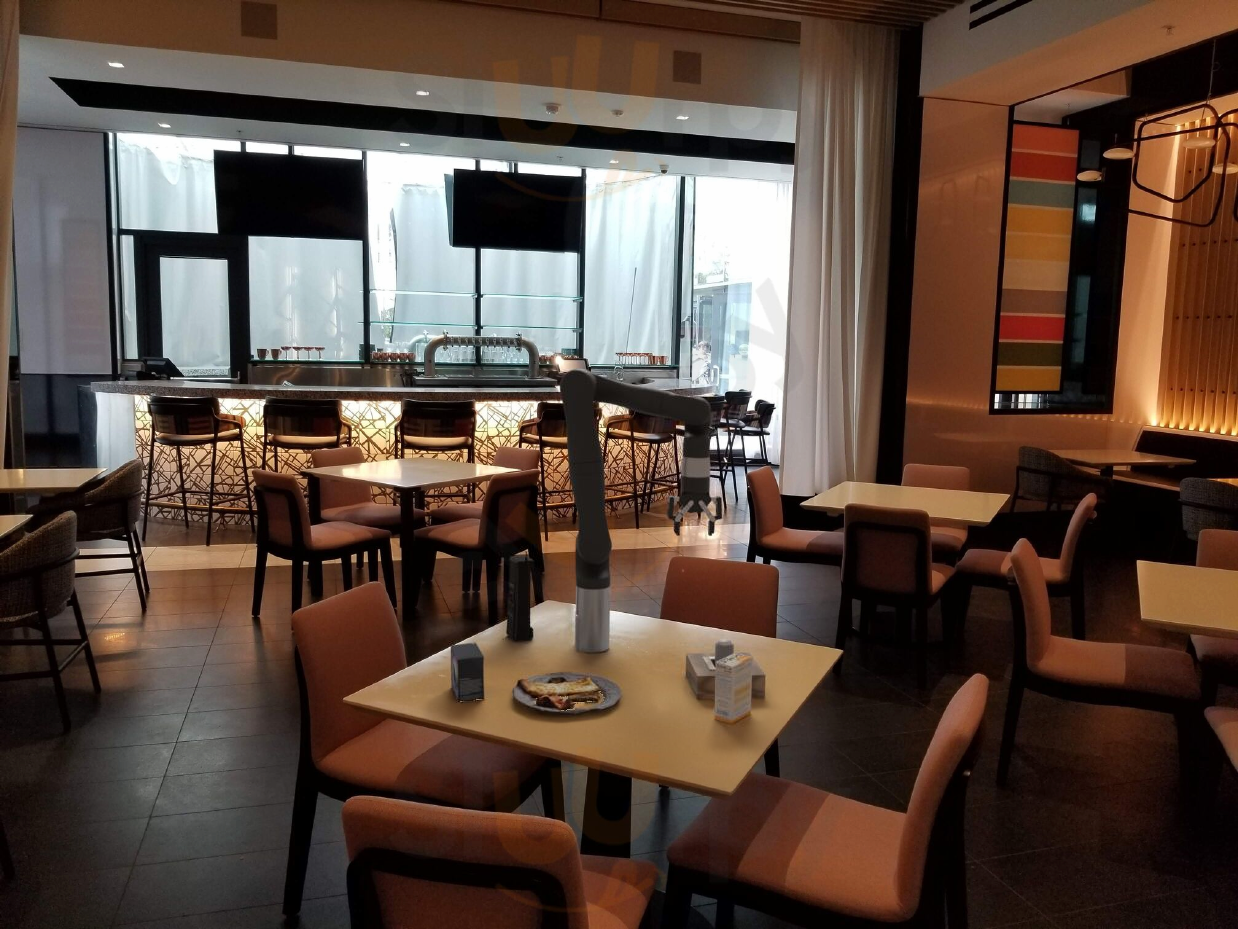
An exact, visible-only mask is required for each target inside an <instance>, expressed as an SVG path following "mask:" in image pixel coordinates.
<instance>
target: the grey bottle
mask: <svg viewBox="0 0 1238 929" xmlns="http://www.w3.org/2000/svg"><path fill="white" fill-rule="evenodd" d="M734 649H735V645H734V644H733V642H732V640H731V639H729V638H719V639H717V642H716V643H715V647H714V651H715V652H714V653H715V667H716V662H717V661H719V660H721V659H723V658H725V657H727V656H730V655H732V654H734V653H735V652H734V651H735V650H734Z"/></svg>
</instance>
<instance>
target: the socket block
mask: <svg viewBox="0 0 1238 929" xmlns="http://www.w3.org/2000/svg"><path fill="white" fill-rule="evenodd" d="M737 653H738V654H742V655H746V656H750V657H752V688H751V699H765V698H766V674H765V672H764V671H763V669H762V668H761V667H760V665H759V664H758V662H757V661H756V660H755V658H754V656H752V654H751V653H750V652H737ZM685 676H686V679H687V680H688V683H689V685H690V687H691V690H692V692H693V693H694V696H695V698H696V700H715V652H707V653H705V652H703V653H702V652H700V653H698V652H697V653H693V652H691V653H685Z"/></svg>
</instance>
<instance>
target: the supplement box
mask: <svg viewBox="0 0 1238 929" xmlns="http://www.w3.org/2000/svg"><path fill="white" fill-rule="evenodd" d="M738 653H739V652H734V654H732V655H730V656H727V657H725V658H723V659H721V660H719V661H717V662H716V667H715V699H714V717H713V718H714V719H715V720H718V721H720V722H724V723H727V724H731V725H733V724H735V723H736V722H738V721H739V720H741V719H743V718H745V717H747V716H748V715H750V714H751V713H752V698H751V688H752V657H753V656H752V657H750V656H746V655H742V654H738Z"/></svg>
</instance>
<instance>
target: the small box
mask: <svg viewBox="0 0 1238 929" xmlns="http://www.w3.org/2000/svg"><path fill="white" fill-rule="evenodd" d="M484 660H485V656H484V655H483V653H482V651H481V649H480V647H479V646H478V644H477V642H469V643H461V644H451V645H450V676H451V678H450V681H451V689H452V691H453V694H454V696H455V698H456V700H457V703H458V702H460V701H470V702H475V701H474V700H476V699H484V700H485V676H484V675H485V674H484V671H485V670H484V669H485V668H484V665H485V664H484V662H485V661H484Z"/></svg>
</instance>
